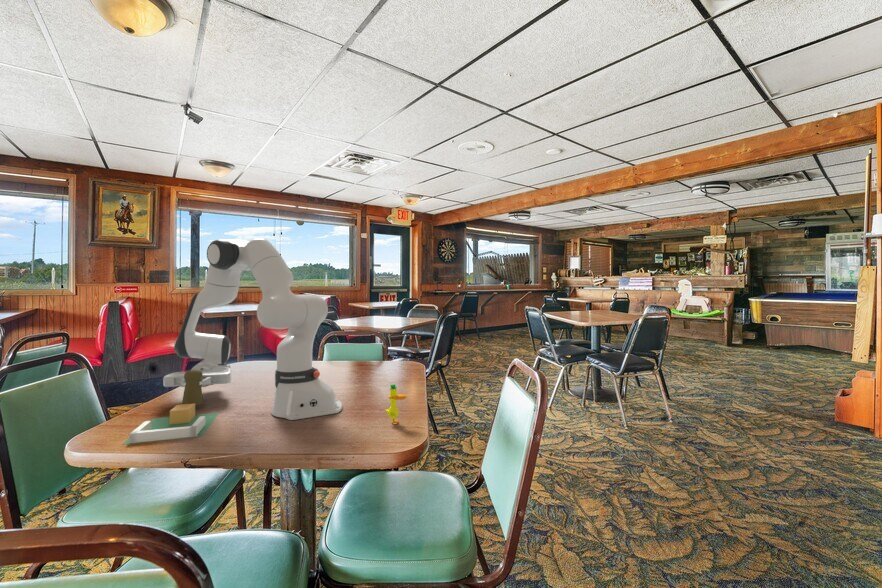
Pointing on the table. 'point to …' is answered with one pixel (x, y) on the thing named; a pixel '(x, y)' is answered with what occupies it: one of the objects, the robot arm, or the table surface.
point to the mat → (180, 424)
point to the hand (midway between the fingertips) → (192, 383)
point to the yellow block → (182, 413)
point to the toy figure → (394, 403)
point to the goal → (165, 432)
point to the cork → (192, 388)
